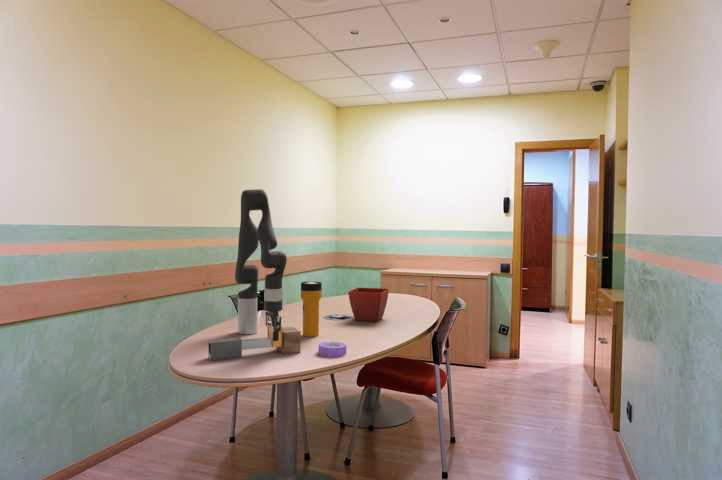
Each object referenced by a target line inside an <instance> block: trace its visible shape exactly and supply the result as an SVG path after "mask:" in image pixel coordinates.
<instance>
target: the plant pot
mask: <svg viewBox="0 0 722 480" xmlns="http://www.w3.org/2000/svg"><path fill="white" fill-rule="evenodd" d="M389 291H390V289H389V288H378V287H377V288H375V287H356V288H353V289H351V290H349V291H348V298H349V303H350V308H351V312H352V315H353V318H354V320H355V321H356V322H357V321H358V322H369V323H370V322H372V323H377V322H379V321H380V320H382V319H383V316H384V315H385V311H386V308H387V303H388V297H389Z"/></svg>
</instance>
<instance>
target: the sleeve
mask: <svg viewBox="0 0 722 480" xmlns="http://www.w3.org/2000/svg"><path fill="white" fill-rule="evenodd" d="M242 340H243V339H241V338H240V337H239V336H238V337H230V338H229V337H228V338H217V339H209V340H207V342H208V345H207V347H208V349H207V351H208V353H207V355H208V357H207V358H208V359H209V360H210V362H214V361H222V360H233V359H242V357H243V355H242V354H243V350H242Z"/></svg>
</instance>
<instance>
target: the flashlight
mask: <svg viewBox="0 0 722 480" xmlns="http://www.w3.org/2000/svg"><path fill="white" fill-rule="evenodd" d="M322 284H323V283H322V282H321V281H302V282H300V298H301V299H302V336H303V337H306V338H314V337H318V336H320V335H319V334H320V332H319V331H320V330H319V329H320V328H319V327H320V300H321V299H322V292H323V291H322V289H323V287H322Z"/></svg>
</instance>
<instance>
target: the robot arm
mask: <svg viewBox="0 0 722 480" xmlns="http://www.w3.org/2000/svg"><path fill="white" fill-rule="evenodd" d="M251 211H261V215H262V216H261V219H260V222H259V223H258V226H256V224H255V223H254V222H253V220H252V218H251V217H250V212H251ZM238 232H239V233H238V241H237V242H238V245H237V246H238V248H237V258H236V259H237V260H236V263H235V264H236V265H235V270H234V280H235V283H236V284H238V285H249V286H248V287H247V288H245V289H243V290H240V291H238V294H237V333H238V335H239V334H240V335H254V334H257V333H258V284H259V283H258V282H259V269H258V265H256V264H246V263H247V261H248V259H249V258H250V257H251V256H252V255H253V254H254V253H255V252H256V250H257V249H258V247H259V245H260V264H261V265H262V267H263V268H264V269H274V271H273V272H271V273H268V274H266V275H265V277H264V291H263V292H264V295H263V296H264V297H263V298H264V299H263V310H264V311H265V326H266V328H267V329H268V327H269V325H271V327H272V328H273V341H278V339H279V331H281V326H282V316H280V315H279V312H281V311H282V310H283V297H284V295H283V277H284V274H285V273H284V272H285V269H286V266H287V261H288V260H287V255H286V253H285V252H284V251H282V250H275V248H277V247H278V241H277V237H276V235H275V231H274V228H273V223H272V216H271V210H270V202H269V198H268V195H267V192H266V191H265V189H255V188H254V189H245V190H243V191H242V192H241V195H240V223H239V231H238ZM273 250H274V251H273ZM276 327H277V328H276Z"/></svg>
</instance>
